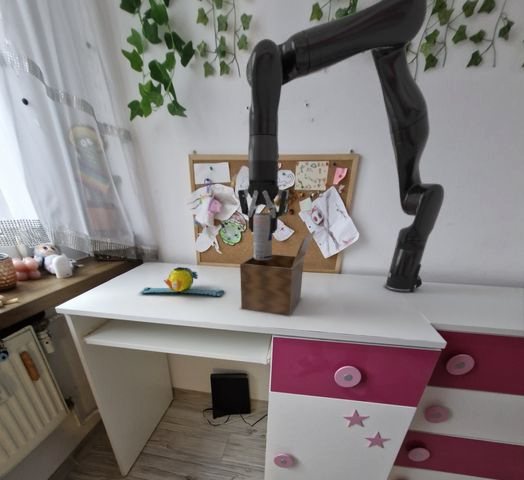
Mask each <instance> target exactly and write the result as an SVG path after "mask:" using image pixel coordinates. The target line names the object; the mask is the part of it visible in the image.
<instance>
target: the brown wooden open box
mask: <svg viewBox="0 0 524 480" xmlns="http://www.w3.org/2000/svg"><path fill="white" fill-rule="evenodd" d="M295 257H296V255H285V254H275V253H272V258H271V259H270V260H267V261H259V260H255V259H254V255H252V256H251V257H249V258H247V259H245V260H244V261H242V262H241V263H239V271H240V273H239V274H240V302H241V303H240V305H241V309H242V310H247V311H255V312H262V313H269V314H273V315H282V316H290V315H291V314H292V312H293V310H294V309H295V307H296V306H297V304H298V302H299V301H300V300H301V296H302V285H303V284H302V283H303V271H304V262H305V261H304V260H305V258H304V256H303V257H302V258H301V259H300V260H299V261H298V262H297V263H296V264H295V265H294V266H292V264H293V262H294V260H295Z"/></svg>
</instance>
